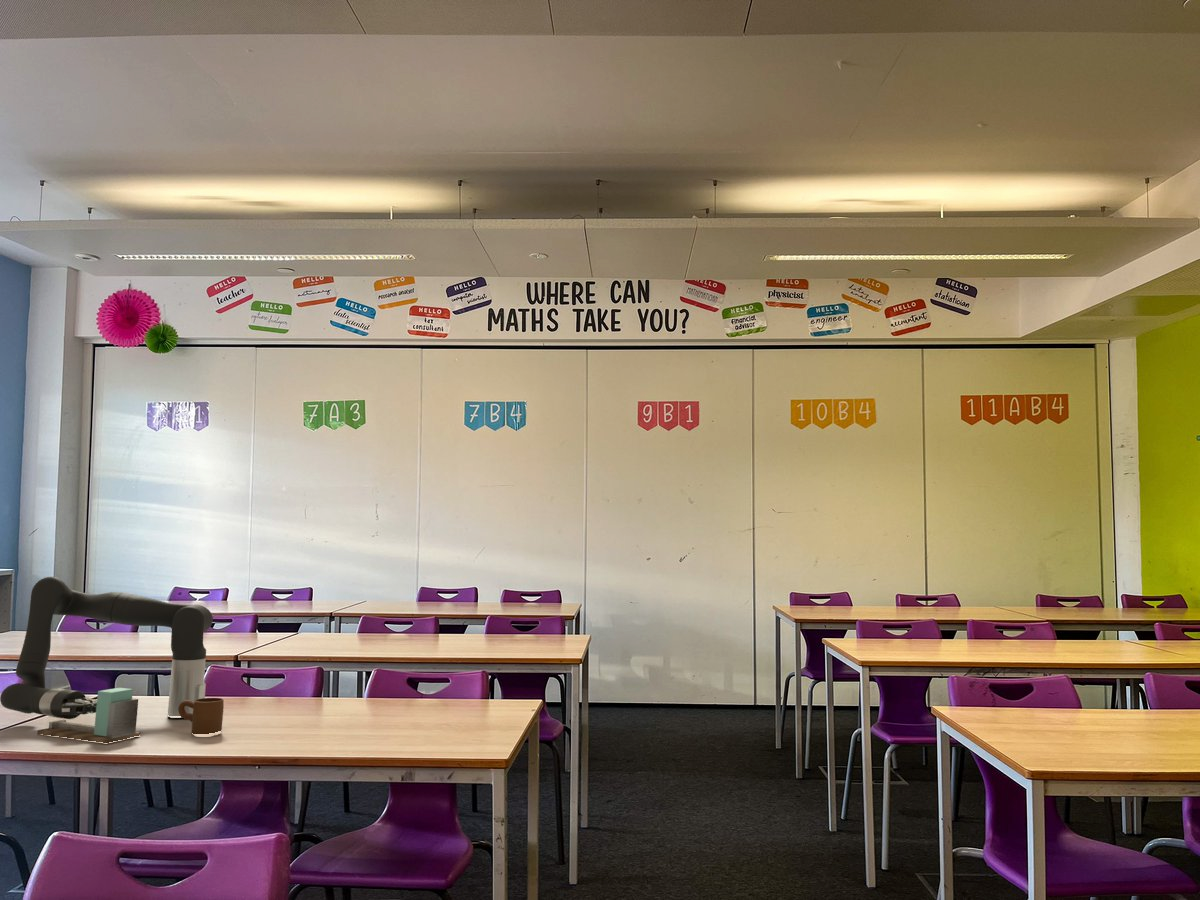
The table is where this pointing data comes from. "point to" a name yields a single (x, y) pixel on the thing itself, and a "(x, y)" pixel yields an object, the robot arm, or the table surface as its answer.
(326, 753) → the table surface
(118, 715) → the rail
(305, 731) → the table surface
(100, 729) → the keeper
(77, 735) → the board
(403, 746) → the table surface
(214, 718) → the mug
